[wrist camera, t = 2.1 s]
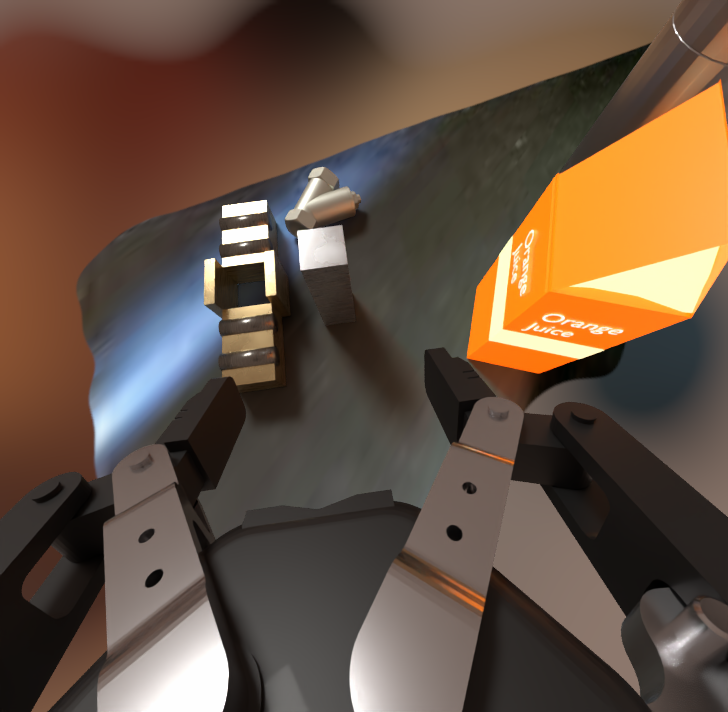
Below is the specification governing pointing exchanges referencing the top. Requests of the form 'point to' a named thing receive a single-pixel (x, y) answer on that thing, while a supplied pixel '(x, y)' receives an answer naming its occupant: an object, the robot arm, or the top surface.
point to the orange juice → (612, 245)
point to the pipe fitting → (321, 203)
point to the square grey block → (327, 273)
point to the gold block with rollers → (252, 323)
